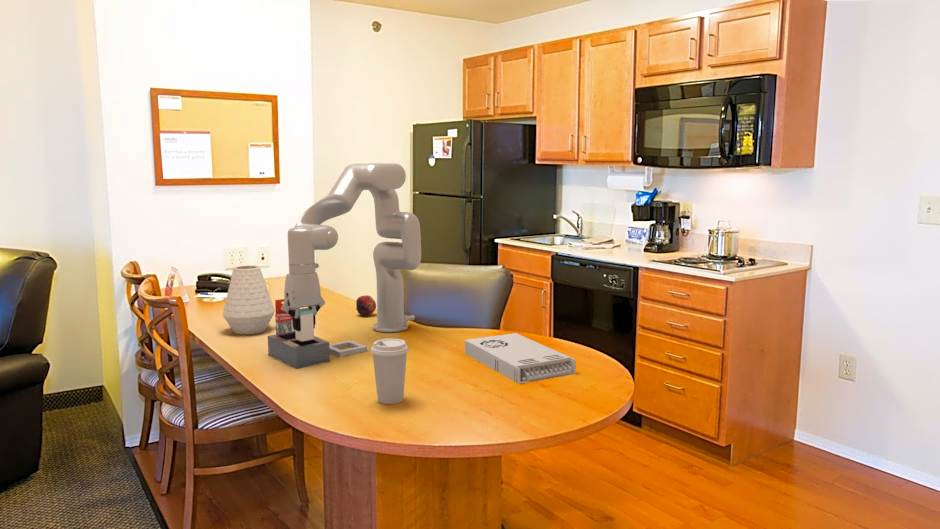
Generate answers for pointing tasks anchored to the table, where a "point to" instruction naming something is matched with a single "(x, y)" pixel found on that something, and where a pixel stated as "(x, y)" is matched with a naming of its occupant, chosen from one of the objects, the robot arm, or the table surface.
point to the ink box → (282, 319)
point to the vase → (248, 301)
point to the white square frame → (353, 350)
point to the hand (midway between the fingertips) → (304, 328)
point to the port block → (298, 350)
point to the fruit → (365, 305)
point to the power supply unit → (519, 357)
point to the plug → (305, 325)
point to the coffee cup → (390, 369)
